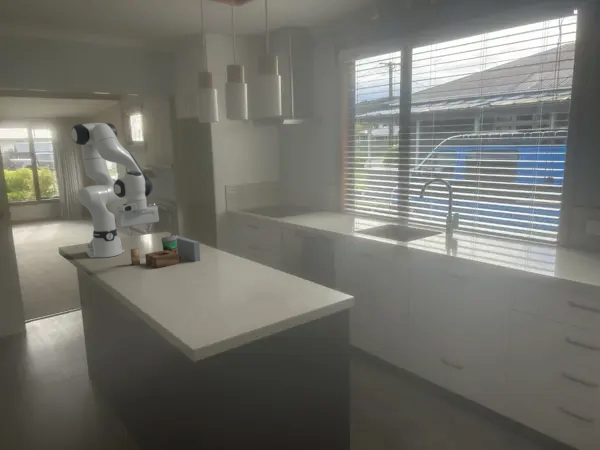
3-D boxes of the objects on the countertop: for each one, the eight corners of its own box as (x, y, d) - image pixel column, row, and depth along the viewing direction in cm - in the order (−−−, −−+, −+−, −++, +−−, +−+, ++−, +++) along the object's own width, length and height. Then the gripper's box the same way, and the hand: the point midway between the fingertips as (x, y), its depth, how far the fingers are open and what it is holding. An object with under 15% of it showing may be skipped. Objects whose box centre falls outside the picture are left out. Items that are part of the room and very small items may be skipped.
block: (146, 263, 224) (145, 254, 223) (167, 259, 232) (167, 249, 231) (157, 267, 215) (156, 258, 214) (179, 263, 224) (178, 253, 223)
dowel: (130, 264, 223) (129, 249, 222) (138, 263, 226) (136, 247, 225) (133, 266, 220) (132, 250, 219) (141, 264, 223) (140, 249, 222)
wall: (177, 255, 239) (176, 237, 238) (182, 254, 241) (181, 237, 240) (195, 261, 227) (194, 242, 225) (200, 260, 229) (199, 241, 227)
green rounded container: (172, 255, 240) (171, 238, 238) (162, 255, 241) (161, 237, 239) (183, 250, 251) (181, 233, 250) (173, 250, 253) (171, 233, 251)
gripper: (154, 202, 220) (156, 229, 223) (113, 207, 206) (116, 236, 208) (160, 203, 216) (162, 231, 218) (118, 208, 202) (121, 237, 204)
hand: (139, 233), depth 213 cm, fingers open, 8 cm apart
